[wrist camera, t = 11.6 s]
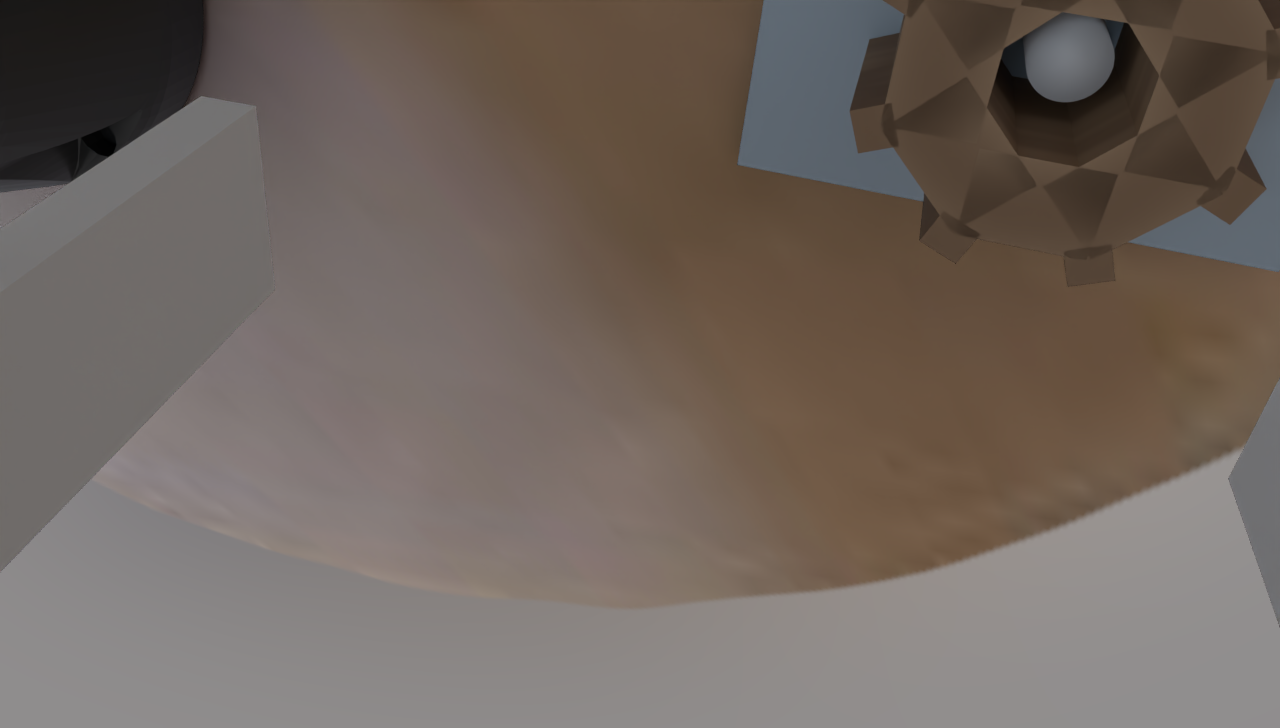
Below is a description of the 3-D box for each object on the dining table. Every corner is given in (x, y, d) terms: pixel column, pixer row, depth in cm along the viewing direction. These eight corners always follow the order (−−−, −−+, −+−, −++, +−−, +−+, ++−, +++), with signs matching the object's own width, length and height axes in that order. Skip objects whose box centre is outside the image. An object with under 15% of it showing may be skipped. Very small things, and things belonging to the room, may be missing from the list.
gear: (845, 150, 34) (822, 236, 29) (921, -201, 29) (909, -169, 24) (1174, 214, 32) (1209, 315, 28) (1320, -144, 27) (1394, -96, 22)
